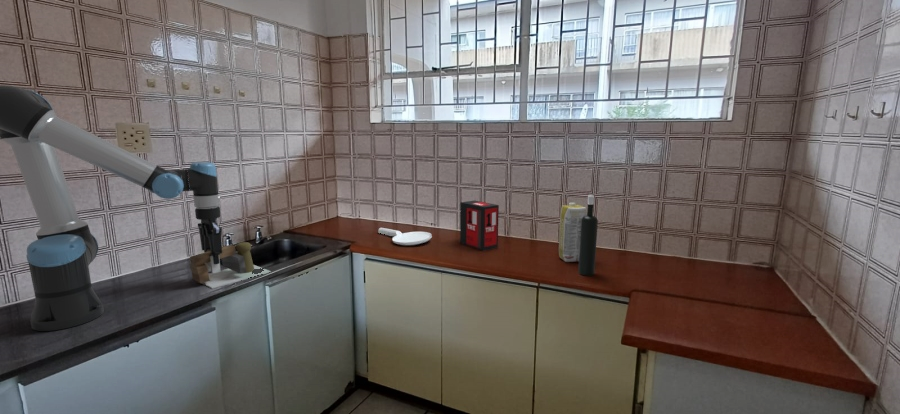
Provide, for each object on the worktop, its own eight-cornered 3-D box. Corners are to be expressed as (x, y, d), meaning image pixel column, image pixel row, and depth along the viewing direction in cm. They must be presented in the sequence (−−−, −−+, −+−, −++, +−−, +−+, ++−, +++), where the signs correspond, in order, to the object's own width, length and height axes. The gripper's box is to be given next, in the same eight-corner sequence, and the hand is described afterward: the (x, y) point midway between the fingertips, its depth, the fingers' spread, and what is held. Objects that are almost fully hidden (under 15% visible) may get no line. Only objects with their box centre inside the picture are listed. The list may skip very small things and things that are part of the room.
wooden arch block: (205, 286, 138) (200, 261, 136) (188, 277, 146) (183, 253, 144) (246, 271, 149) (242, 248, 146) (228, 264, 157) (223, 242, 155)
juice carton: (577, 256, 176) (580, 201, 171) (585, 261, 168) (589, 204, 164) (556, 257, 174) (559, 202, 170) (564, 263, 166) (567, 205, 162)
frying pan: (366, 240, 210) (365, 231, 209) (395, 231, 223) (394, 223, 222) (410, 250, 185) (409, 241, 184) (440, 240, 199) (439, 231, 198)
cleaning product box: (460, 243, 196) (460, 202, 193) (474, 240, 202) (474, 200, 198) (483, 250, 184) (484, 207, 180) (497, 247, 189) (498, 205, 186)
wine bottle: (579, 270, 158) (583, 193, 153) (594, 271, 156) (599, 194, 150) (577, 274, 153) (582, 195, 147) (593, 276, 151) (599, 196, 145)
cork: (247, 273, 152) (244, 245, 150) (233, 272, 153) (230, 244, 151) (257, 268, 158) (255, 241, 156) (244, 267, 159) (241, 240, 157)
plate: (212, 288, 139) (212, 287, 139) (192, 278, 148) (192, 277, 148) (270, 272, 155) (270, 271, 155) (249, 264, 165) (249, 263, 165)
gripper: (229, 208, 140) (235, 273, 145) (208, 203, 150) (214, 264, 154) (205, 211, 134) (212, 279, 139) (185, 205, 144) (193, 269, 148)
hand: (213, 271), depth 146 cm, fingers closed on wooden arch block, 3 cm apart
